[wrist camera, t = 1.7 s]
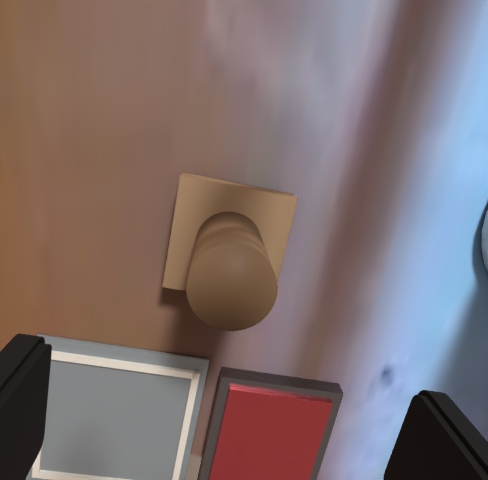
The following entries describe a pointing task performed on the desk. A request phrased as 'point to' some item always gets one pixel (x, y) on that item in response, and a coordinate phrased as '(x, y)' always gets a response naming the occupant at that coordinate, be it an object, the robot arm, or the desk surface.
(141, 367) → the board
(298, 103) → the desk surface
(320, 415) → the ink pad
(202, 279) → the stamp
